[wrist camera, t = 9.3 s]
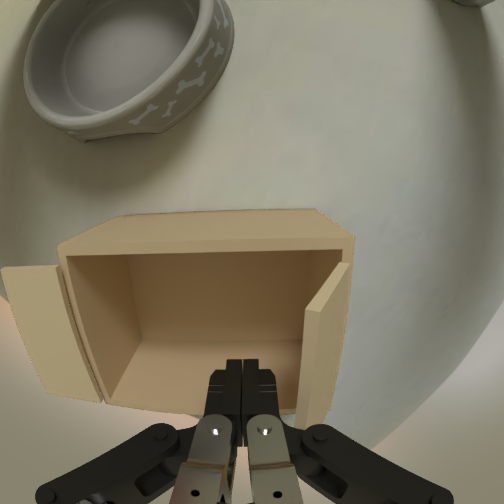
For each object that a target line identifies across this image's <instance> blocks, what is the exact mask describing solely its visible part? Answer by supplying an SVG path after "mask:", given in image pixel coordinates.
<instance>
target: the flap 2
mask: <svg viewBox="0 0 504 504" xmlns="http://www.w3.org/2000/svg"><path fill="white" fill-rule="evenodd" d="M349 267H350V263H343V262H339V263H338V265H337V266H336V268H335V269H334V271H333V272H332V273H331V275H330V276H329V278H328V279H327V280H326V282H325V283H324V284H323V286H322V287H321V289H320V290H319V291H318V293H317V294H316V295H315V297H314V298H313V299H312V301H311V302H310V303H309V305H308V306H307V307H306V309H305V317H304V331H303V344H302V356H301V368H300V378H299V388H298V398H297V407H296V415H295V423H294V428H297V429H303V430H306V429H307V428H308V427H310V426H312V425H315V424H322V422H323V420H324V418H325V416H326V414H327V411H328V406H329V401H330V397H331V392H332V387H333V382H334V376H335V371H336V365H337V360H338V354H339V348H340V341H341V335H342V328H343V321H344V313H345V305H346V297H347V287H348V278H349Z"/></svg>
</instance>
